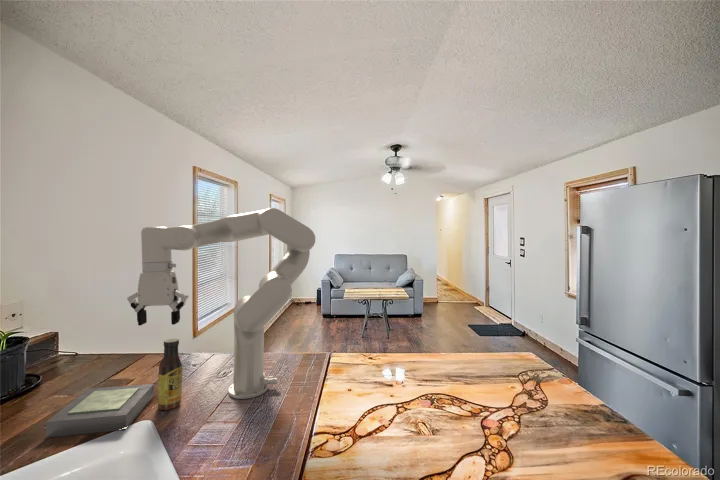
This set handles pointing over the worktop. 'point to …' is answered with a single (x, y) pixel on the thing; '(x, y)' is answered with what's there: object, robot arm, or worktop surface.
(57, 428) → the stand
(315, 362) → the worktop surface
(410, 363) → the worktop surface
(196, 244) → the robot arm
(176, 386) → the sauce bottle
